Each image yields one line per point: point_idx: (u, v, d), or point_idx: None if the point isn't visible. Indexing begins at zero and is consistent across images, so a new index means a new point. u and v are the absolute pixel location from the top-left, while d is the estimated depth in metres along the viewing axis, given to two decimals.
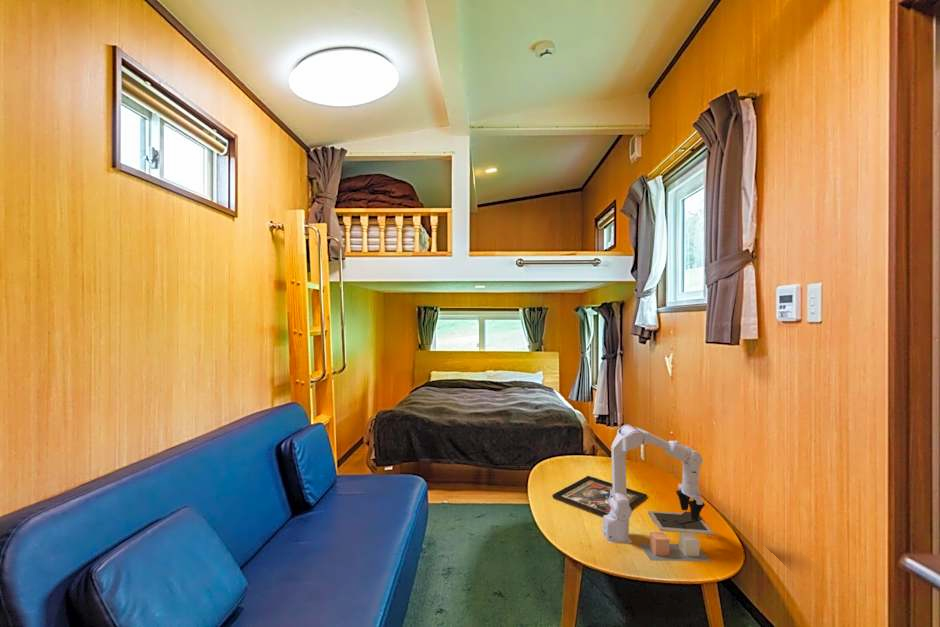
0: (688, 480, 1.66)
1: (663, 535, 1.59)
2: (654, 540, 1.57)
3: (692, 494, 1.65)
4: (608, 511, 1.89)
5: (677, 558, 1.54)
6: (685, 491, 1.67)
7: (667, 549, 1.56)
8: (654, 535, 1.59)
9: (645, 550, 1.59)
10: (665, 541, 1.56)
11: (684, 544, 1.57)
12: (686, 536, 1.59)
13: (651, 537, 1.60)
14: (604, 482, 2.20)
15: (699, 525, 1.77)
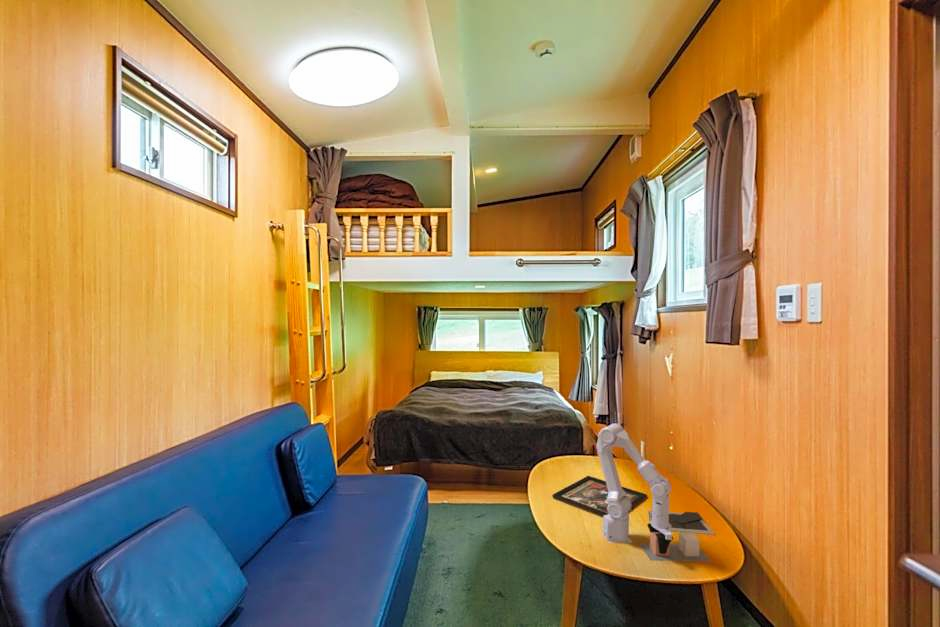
0: (653, 510, 1.58)
1: None
2: (654, 540, 1.57)
3: (661, 528, 1.56)
4: None
5: (677, 558, 1.54)
6: (654, 524, 1.57)
7: (667, 549, 1.56)
8: (654, 535, 1.59)
9: (645, 550, 1.59)
10: None
11: (684, 544, 1.57)
12: (686, 536, 1.59)
13: (651, 537, 1.60)
14: (604, 482, 2.20)
15: (699, 525, 1.77)
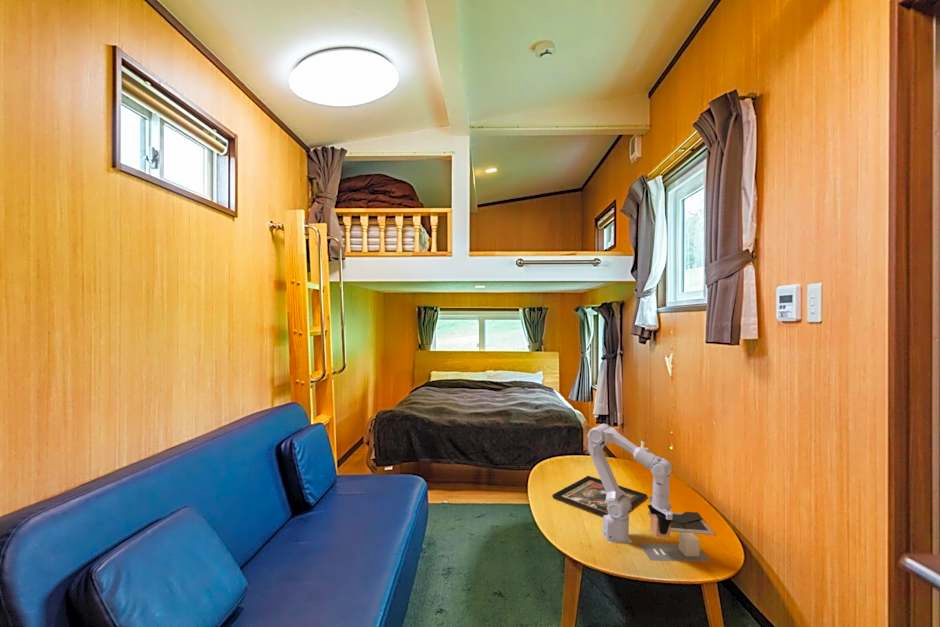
0: (653, 491, 1.58)
1: None
2: (655, 521, 1.57)
3: (662, 508, 1.55)
4: None
5: (677, 558, 1.54)
6: (655, 505, 1.57)
7: (668, 530, 1.56)
8: (655, 517, 1.59)
9: (645, 550, 1.59)
10: None
11: (684, 544, 1.57)
12: (686, 536, 1.59)
13: (652, 519, 1.60)
14: None
15: (699, 525, 1.77)
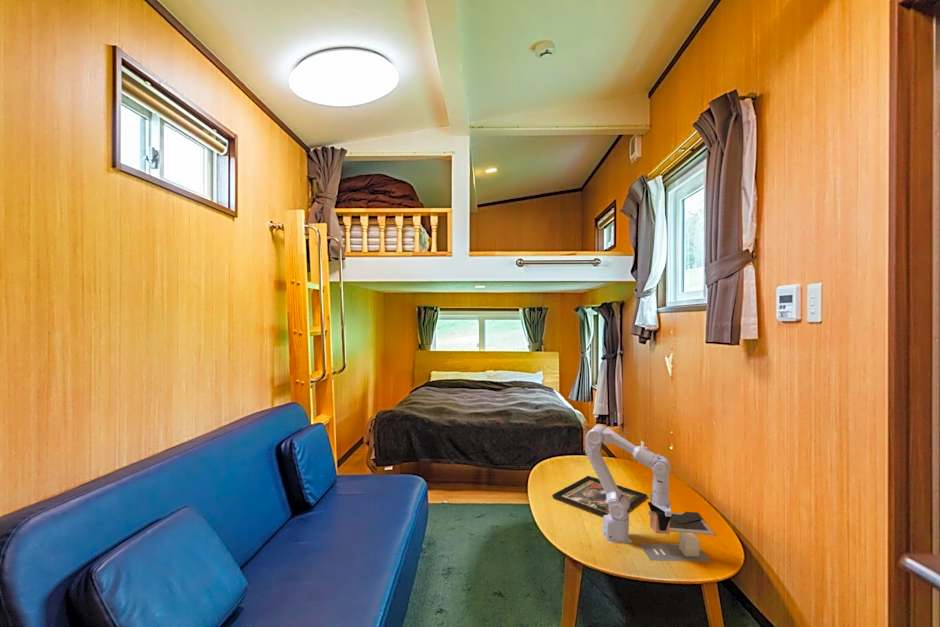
0: (654, 489, 1.60)
1: None
2: (655, 518, 1.59)
3: (662, 505, 1.58)
4: (608, 511, 1.89)
5: (677, 558, 1.54)
6: (655, 502, 1.59)
7: (667, 527, 1.58)
8: (655, 514, 1.61)
9: (645, 550, 1.59)
10: None
11: (684, 544, 1.57)
12: (686, 536, 1.59)
13: (652, 516, 1.62)
14: None
15: (699, 525, 1.77)
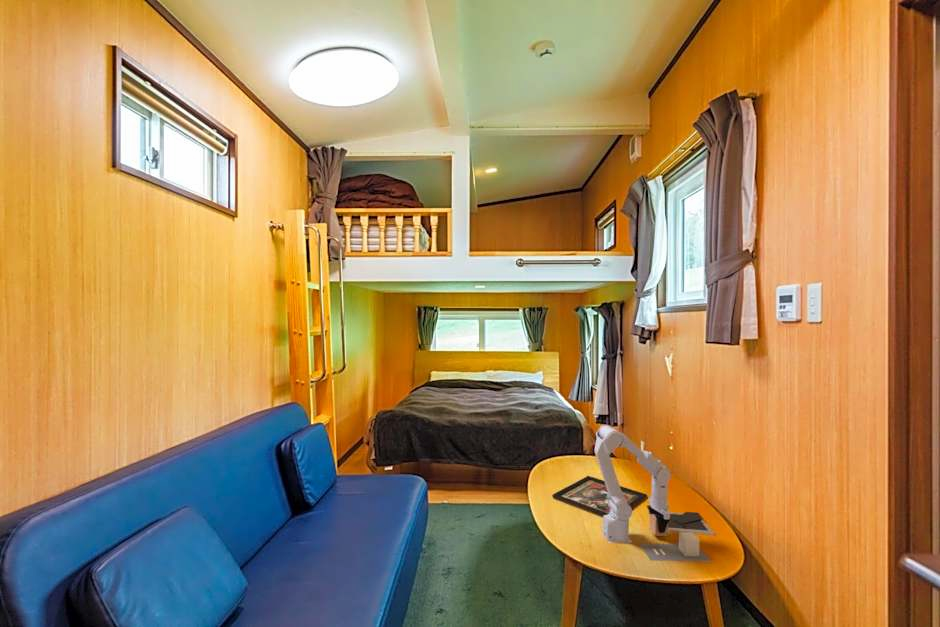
0: (657, 495, 1.67)
1: None
2: (654, 521, 1.68)
3: (660, 509, 1.67)
4: (608, 511, 1.89)
5: (677, 558, 1.54)
6: (654, 505, 1.68)
7: (666, 529, 1.67)
8: (654, 516, 1.70)
9: (645, 550, 1.59)
10: None
11: (684, 544, 1.57)
12: (686, 536, 1.59)
13: (651, 518, 1.71)
14: (604, 482, 2.20)
15: (700, 525, 1.77)
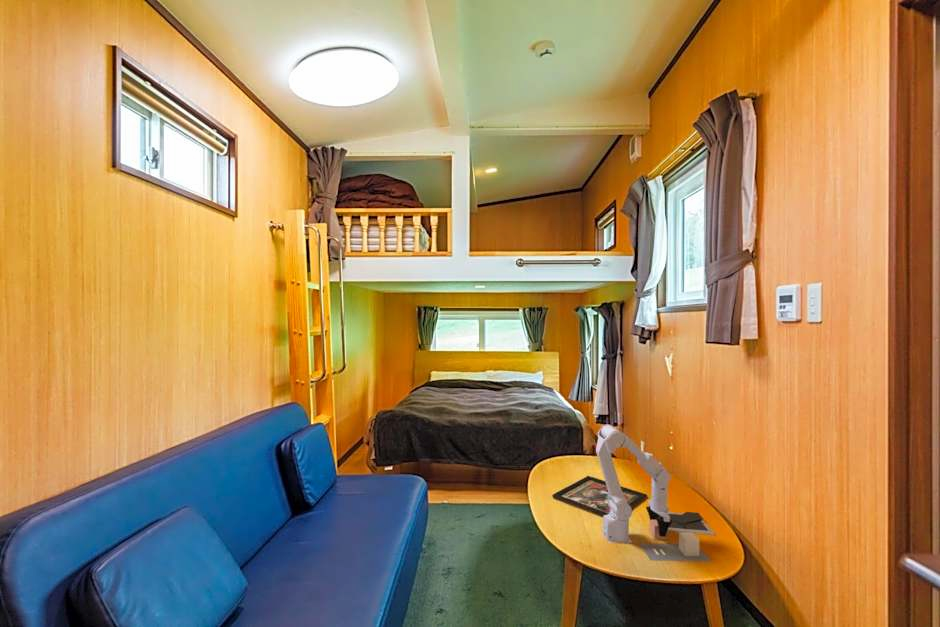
0: (657, 497, 1.67)
1: None
2: (653, 527, 1.68)
3: (660, 511, 1.67)
4: (608, 511, 1.89)
5: (677, 558, 1.54)
6: (653, 508, 1.68)
7: None
8: (653, 522, 1.70)
9: (645, 550, 1.59)
10: None
11: (684, 544, 1.57)
12: (686, 536, 1.59)
13: (650, 524, 1.71)
14: (604, 482, 2.20)
15: (700, 525, 1.77)
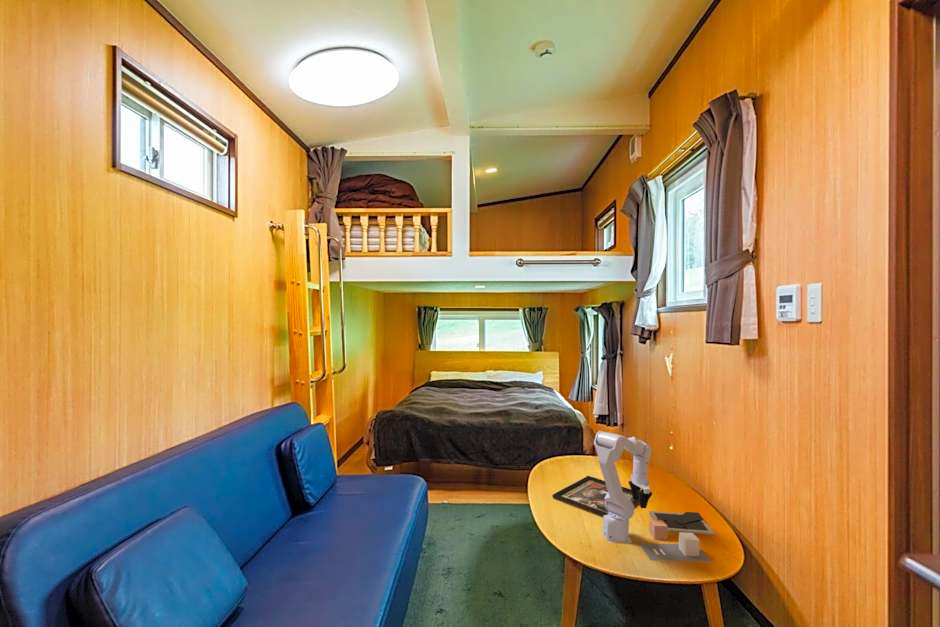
0: (642, 472, 1.75)
1: (662, 522, 1.70)
2: (653, 527, 1.68)
3: (641, 484, 1.75)
4: None
5: (677, 558, 1.54)
6: (635, 481, 1.77)
7: (665, 535, 1.67)
8: (653, 522, 1.70)
9: (645, 550, 1.59)
10: (664, 527, 1.67)
11: (684, 544, 1.57)
12: (686, 536, 1.59)
13: (650, 524, 1.71)
14: (604, 482, 2.20)
15: (700, 525, 1.77)
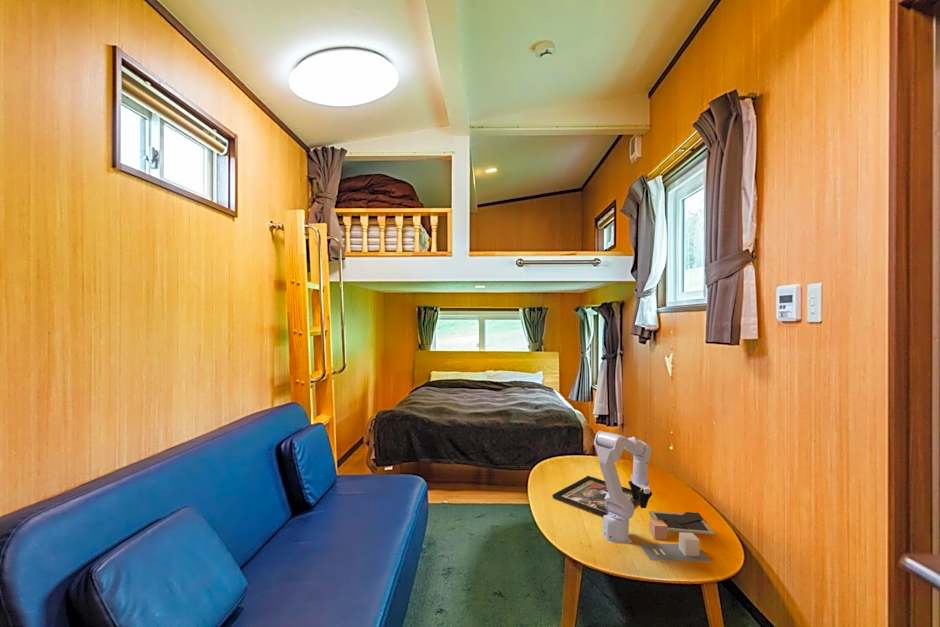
0: (642, 472, 1.75)
1: (662, 522, 1.70)
2: (653, 527, 1.68)
3: (641, 484, 1.75)
4: None
5: (677, 558, 1.54)
6: (635, 481, 1.77)
7: (665, 535, 1.67)
8: (653, 522, 1.70)
9: (645, 550, 1.59)
10: (664, 527, 1.67)
11: (684, 544, 1.57)
12: (686, 536, 1.59)
13: (650, 524, 1.71)
14: (604, 482, 2.20)
15: (700, 525, 1.77)
